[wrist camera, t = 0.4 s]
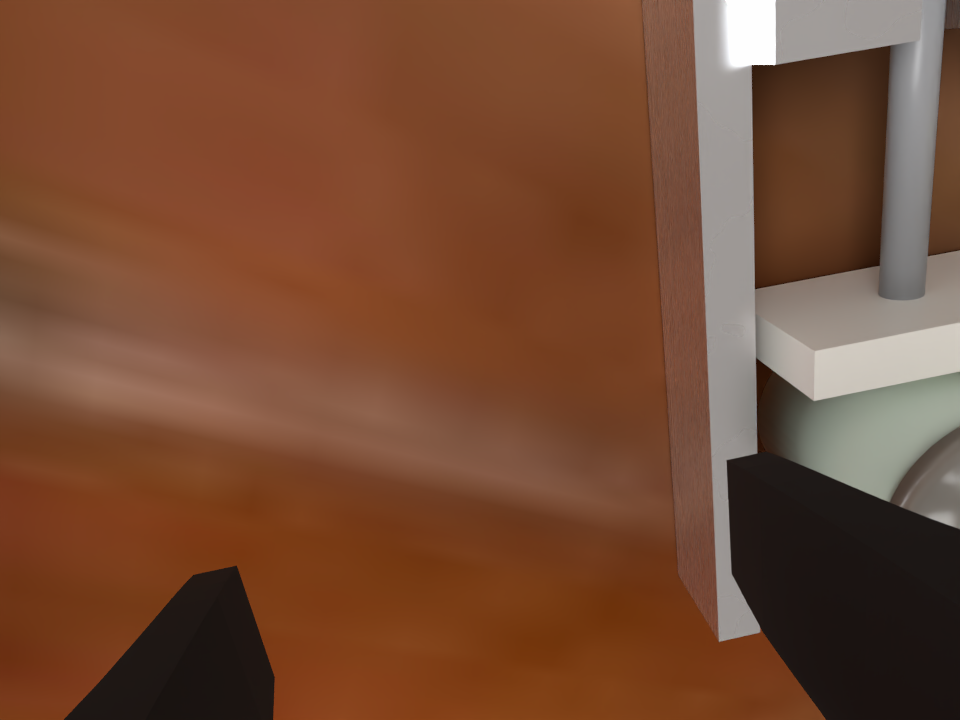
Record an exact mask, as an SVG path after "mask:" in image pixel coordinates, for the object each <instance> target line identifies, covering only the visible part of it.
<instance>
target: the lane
mask: <svg viewBox="0 0 960 720" xmlns="http://www.w3.org/2000/svg"><path fill="white" fill-rule="evenodd" d="M922 1H923V0H642V9H643V25H644V41H645V56H646V72H647V88H648V104H649V119H650V135H651V151H652V166H653V182H654V198H655V214H656V229H657V245H658V261H659V277H660V292H661V308H662V324H663V340H664V355H665V371H666V387H667V403H668V418H669V434H670V450H671V466H672V481H673V497H674V513H675V529H676V544H677V560H678V575H679V577H680V579H681V580H682V582H683V584H684V585H685V587H686V589H687V590H688V592H689V593H690V595H691V597H692V598H693V600H694V602H695V603H696V605H697V607H698V608H699V610H700V611H701V613H702V615H703V616H704V618H705V620H706V621H707V623H708V625H709V626H710V628H711V629H712V631H713V633H714V634H715V636H716V638H717V639H718V641H719V642H720V641H724V640H729V639H733V638H738V637H742V636H747V635H751V634H756V633H760V626H759V624H758V622H757V620H756V618H755V617H754V615H753V613H752V611H751V610H750V608H749V606H748V604H747V602H746V600H745V598H744V596H743V595H742V593H741V591H740V589H739V587H738V585H737V583H736V581H735V579H734V577H733V576H732V573H731V551H730V528H729V506H728V484H727V461H726V460H730V459H734V458H739V457H744V456H748V455H753V454H757V399H756V331H755V264H754V196H753V128H752V65H777V64H783V63H789V62H795V61H801V60H806V59H812V58H818V57H824V56H830V55H836V54H842V53H848V52H854V51H860V50H866V49H872V48H878V47H884V46H890V45H895V44H901V43H907V42H913V41H919V40H920V33H921V17H922ZM954 28H960V0H946V10H945V24H944V29H954Z"/></svg>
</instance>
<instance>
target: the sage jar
mask: <svg viewBox="0 0 960 720" xmlns="http://www.w3.org/2000/svg"><path fill="white" fill-rule="evenodd" d="M757 422H758V431H759V435H760V440H761V442H762V444H763V447H764V449H765V450H766V452H769V453H772V454H775V455H777V456H780V457H783V458H785V459H788V460H790V461H793V462H795V463H798V464H800V465H803V466H805V467H807V468H810V469H812V470H815V471H817V472H819V473H822V474H824V475H826V476H829V477H831V478H833V479H835V480H838V481H840V482H842V483H845V484H847V485H849V486H852V487H854V488H857V489H859V490H861V491H864V492H866V493H868V494H871V495H873V496H876V497H878V498H880V499H883V500H885V501H888V502H890V503H892V504H895V505H897V506H900V507H902V508H905V509H907V510H910V511H912V512H915V513H918V514H920V515H923V516H925V517H928V518H930V519H933V520H936V521H939V522H941V523H944V524H947V525H950V526H952V527H955V528H958V529H960V372H955V373H950V374H945V375H940V376H935V377H930V378H925V379H920V380H915V381H911V382H906V383H901V384H896V385H891V386H886V387H881V388H876V389H871V390H866V391H861V392H856V393H851V394H846V395H841V396H836V397H832V398H827V399H822V400H817V401H813V400H812V399H810V398H809V397H808V396H806V395H805V394H804V393H802V392H801V391H800V390H798V389H797V388H796V387H794V386H793V385H792V384H790V383H789V382H788V381H786V380H785V379H784V378H782V377H781V376H780V375H778V374H777V373H776V372H774V371H773V372H772V374H771V376H770V377H769V379H768V381H767V383H766V385H765V387H764V390H763V392H762V395H761V399H760V402H759V408H758V419H757Z"/></svg>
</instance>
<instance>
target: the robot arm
mask: <svg viewBox="0 0 960 720" xmlns="http://www.w3.org/2000/svg"><path fill="white" fill-rule="evenodd" d="M726 461H727V484H728V506H729V528H730V551H731V573H732V576H733V577H734V579H735V581H736V583H737V585H738V587H739V589H740V591H741V593H742V595H743V596H744V598H745V600H746V602H747V604H748V606H749V608H750V610H751V611H752V613H753V615H754V617H755V618H756V620H757V622H758V624H759V626H760V627H761V629H762V631H763V633H764V634H765V635H766V637H767V638H768V640H769V641H770V643H771V644H772V645H773V647H774V648H775V650H776V651H777V652H778V654H779V655H780V657H781V658H782V659H783V661H784V662H785V664H786V665H787V666H788V668H789V669H790V670H791V672H792V673H793V675H794V676H795V677H796V679H797V680H798V682H799V683H800V684H801V686H802V687H803V688H804V690H805V691H806V692H807V694H808V695H809V697H810V698H811V699H812V701H813V702H814V703H815V705H816V706H817V707H818V709H819V710H820V712H821V713H822V714H823V716H824V717H825V718H826V720H960V529H958V528H955V527H952V526H950V525H947V524H944V523H941V522H939V521H936V520H933V519H930V518H928V517H925V516H923V515H920V514H918V513H915V512H912V511H910V510H907V509H905V508H902V507H900V506H897V505H895V504H892V503H890V502H888V501H885V500H883V499H880V498H878V497H876V496H873V495H871V494H868V493H866V492H864V491H861V490H859V489H857V488H854V487H852V486H849V485H847V484H845V483H842V482H840V481H838V480H835V479H833V478H831V477H829V476H826V475H824V474H822V473H819V472H817V471H815V470H812V469H810V468H807V467H805V466H803V465H800V464H798V463H795V462H793V461H790V460H788V459H785V458H783V457H780V456H777V455H775V454H772V453H769V452H762V453H757V454H753V455H748V456H744V457H739V458H734V459H730V460H726ZM274 678H275V677H274V674H273V671H272V668H271V665H270V662H269V659H268V657H267V654H266V651H265V648H264V645H263V642H262V639H261V636H260V633H259V630H258V627H257V624H256V621H255V618H254V615H253V612H252V609H251V606H250V603H249V601H248V598H247V595H246V592H245V589H244V586H243V583H242V580H241V577H240V574H239V571H238V568H237V566H233V567H229V568H224V569H219V570H215V571H210V572H205V573H201V574H196V575H193V576H192V577H191V578H190V579H189V580H188V581H187V582H186V583H185V584H184V586H183V587H182V588H181V589H180V590H179V591H178V592H177V593H176V594H175V596H174V597H173V598H172V599H171V600H170V601H169V603H168V604H167V605H166V606H165V607H164V608H163V610H162V611H161V612H160V613H159V614H158V615H157V617H156V618H155V619H154V620H153V621H152V622H151V624H150V625H149V626H148V627H147V628H146V629H145V631H144V632H143V633H142V634H141V635H140V636H139V638H138V639H137V640H136V641H135V642H134V643H133V644H132V646H131V647H130V648H129V649H128V650H127V651H126V652H125V654H124V655H123V656H122V657H121V658H120V659H119V660H118V662H117V663H116V664H115V665H114V666H113V667H112V668H111V670H110V671H109V672H108V673H107V674H106V675H105V676H104V678H103V679H102V680H101V681H100V682H99V683H98V684H97V685H96V686H95V687H94V688H93V689H92V691H91V692H90V693H89V694H88V695H87V696H86V697H85V698H84V699H83V700H82V701H81V702H80V703H79V704H78V705H77V706H76V707H75V708H74V709H73V711H72V712H71V713H70V714H69V715H68V716H67V717H66V718H65V719H64V720H273V706H274Z"/></svg>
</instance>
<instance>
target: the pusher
mask: <svg viewBox="0 0 960 720" xmlns="http://www.w3.org/2000/svg"><path fill="white" fill-rule="evenodd" d="M945 10H946V0H923V1H922V17H921V33H920V40H919V41H913V42H907V43H901V44H895V45H891V46H890V66H889V86H888V107H887V127H886V148H885V168H884V189H883V209H882V230H881V250H880V266H875V267H870V268H865V269H859V270H854V271H849V272H844V273H838V274H833V275H828V276H823V277H817V278H812V279H807V280H802V281H796V282H791V283H786V284H781V285H775V286H770V287H765V288H760V289H755V331H756V358H757V359H758V360H760V361H761V362H762V363H764V364H765V365H766V366H768V367H769V368H770V369H772V370H773V371H774V372H776V373H777V374H778V375H780V376H781V377H782V378H784V379H785V380H786V381H788V382H789V383H790V384H792V385H793V386H794V387H796V388H797V389H798V390H800V391H801V392H802V393H804V394H805V395H806V396H808V397H809V398H810V399H812V400H813V401H817V400H822V399H827V398H832V397H836V396H841V395H846V394H851V393H856V392H861V391H866V390H871V389H876V388H881V387H886V386H891V385H896V384H901V383H906V382H911V381H915V380H920V379H925V378H930V377H935V376H940V375H945V374H950V373H955V372H960V250H959V251H954V252H949V253H943V254H938V255H933V256H928V244H929V230H930V216H931V203H932V189H933V175H934V161H935V148H936V134H937V120H938V106H939V93H940V79H941V65H942V52H943V38H944V24H945Z"/></svg>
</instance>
